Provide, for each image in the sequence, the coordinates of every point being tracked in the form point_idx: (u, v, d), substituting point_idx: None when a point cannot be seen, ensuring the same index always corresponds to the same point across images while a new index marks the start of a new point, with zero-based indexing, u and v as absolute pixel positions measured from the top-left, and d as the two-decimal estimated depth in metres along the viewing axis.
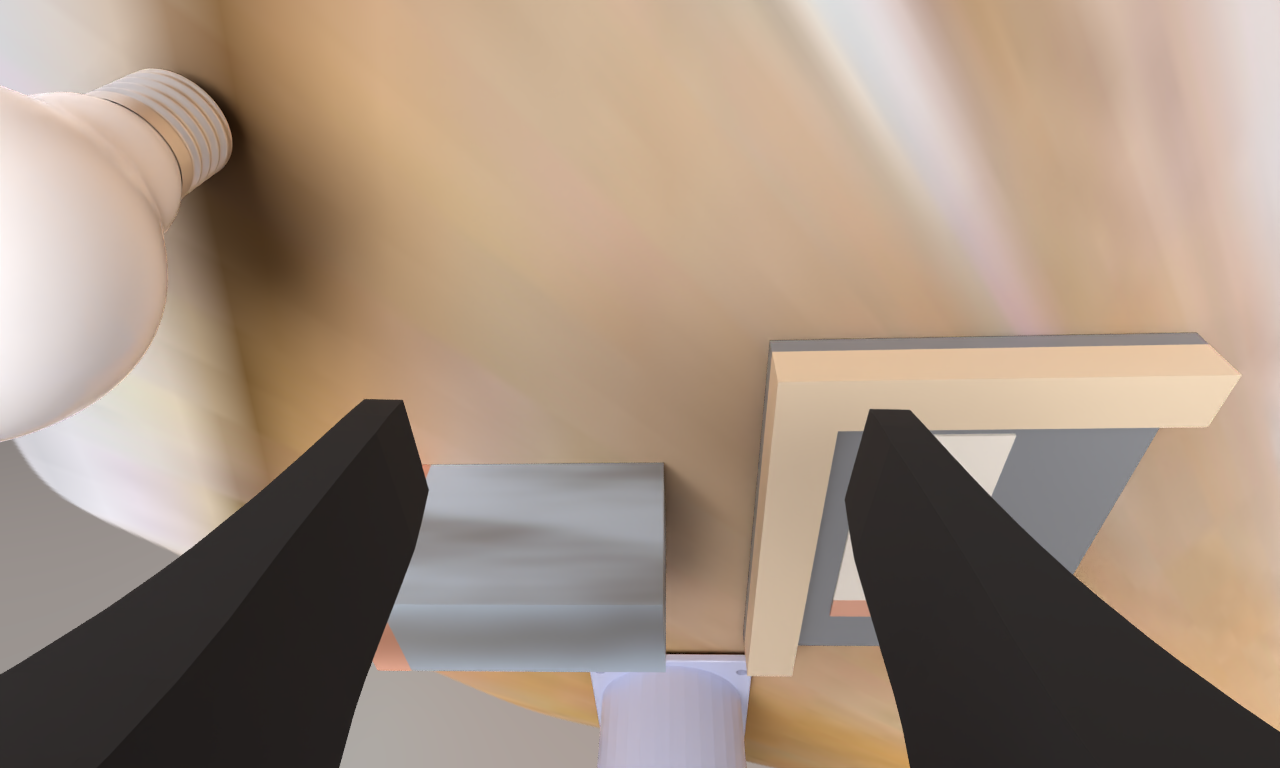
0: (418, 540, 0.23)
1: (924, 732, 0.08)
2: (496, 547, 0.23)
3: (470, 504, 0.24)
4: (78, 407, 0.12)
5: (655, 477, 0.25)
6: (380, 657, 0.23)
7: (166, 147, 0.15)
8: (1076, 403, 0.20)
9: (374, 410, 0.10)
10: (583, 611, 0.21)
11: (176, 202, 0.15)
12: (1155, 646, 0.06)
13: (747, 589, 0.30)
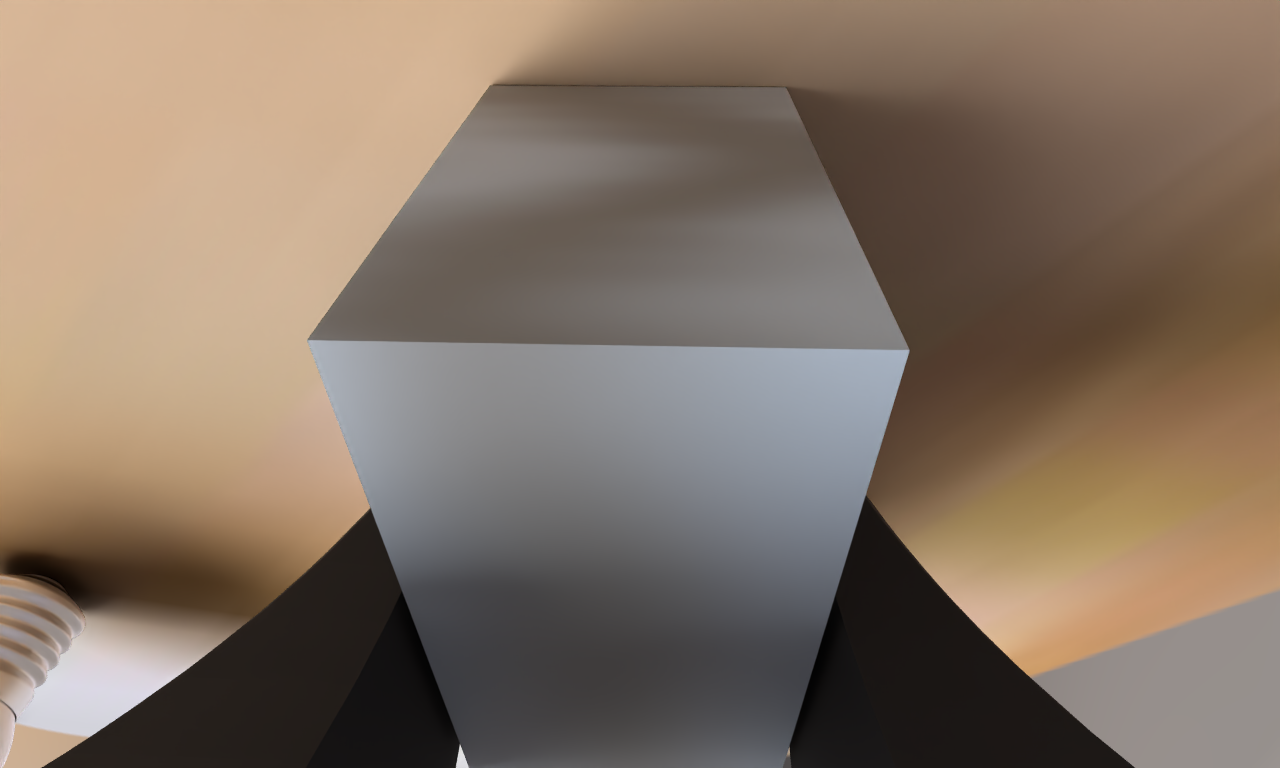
0: None
1: (799, 728, 0.08)
2: None
3: None
4: None
5: None
6: None
7: None
8: None
9: None
10: (431, 565, 0.06)
11: None
12: (985, 641, 0.06)
13: None
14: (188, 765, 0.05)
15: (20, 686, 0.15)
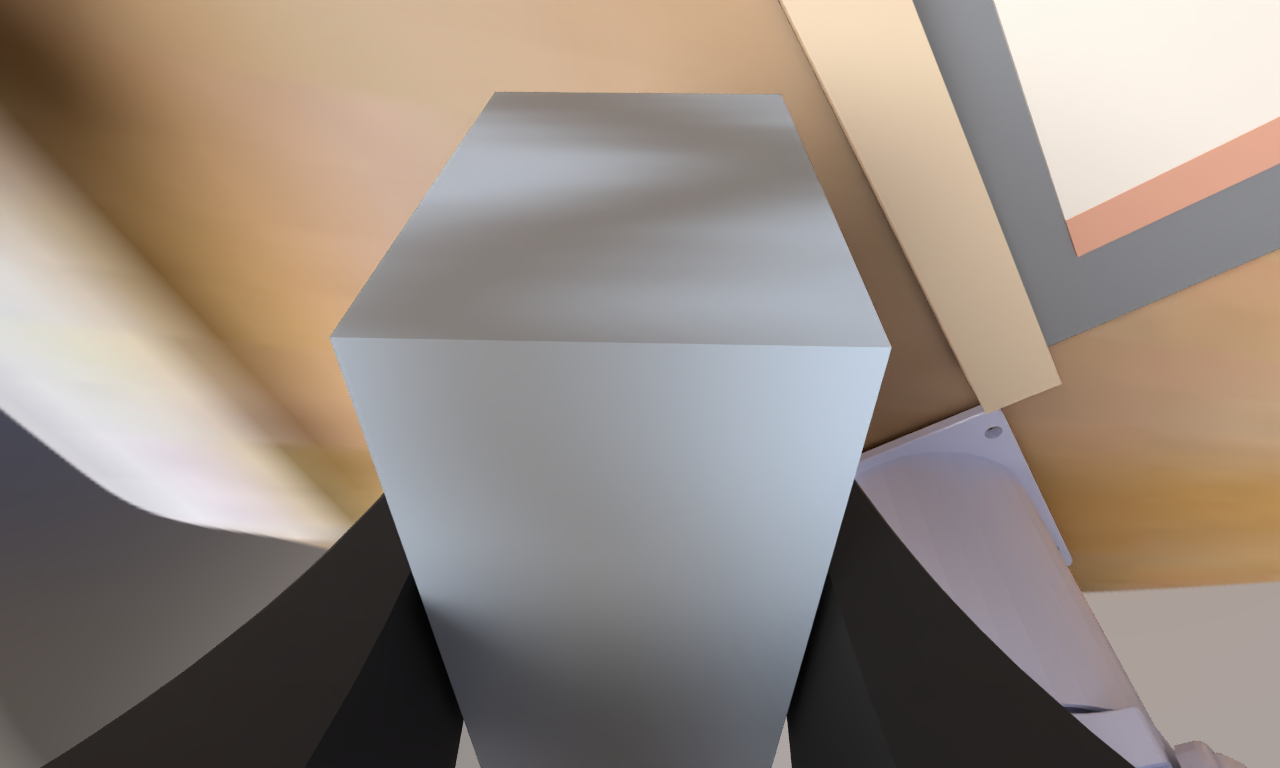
0: None
1: (799, 728, 0.08)
2: None
3: None
4: None
5: None
6: None
7: None
8: None
9: None
10: (440, 551, 0.06)
11: None
12: (986, 641, 0.06)
13: None
14: (187, 764, 0.05)
15: None
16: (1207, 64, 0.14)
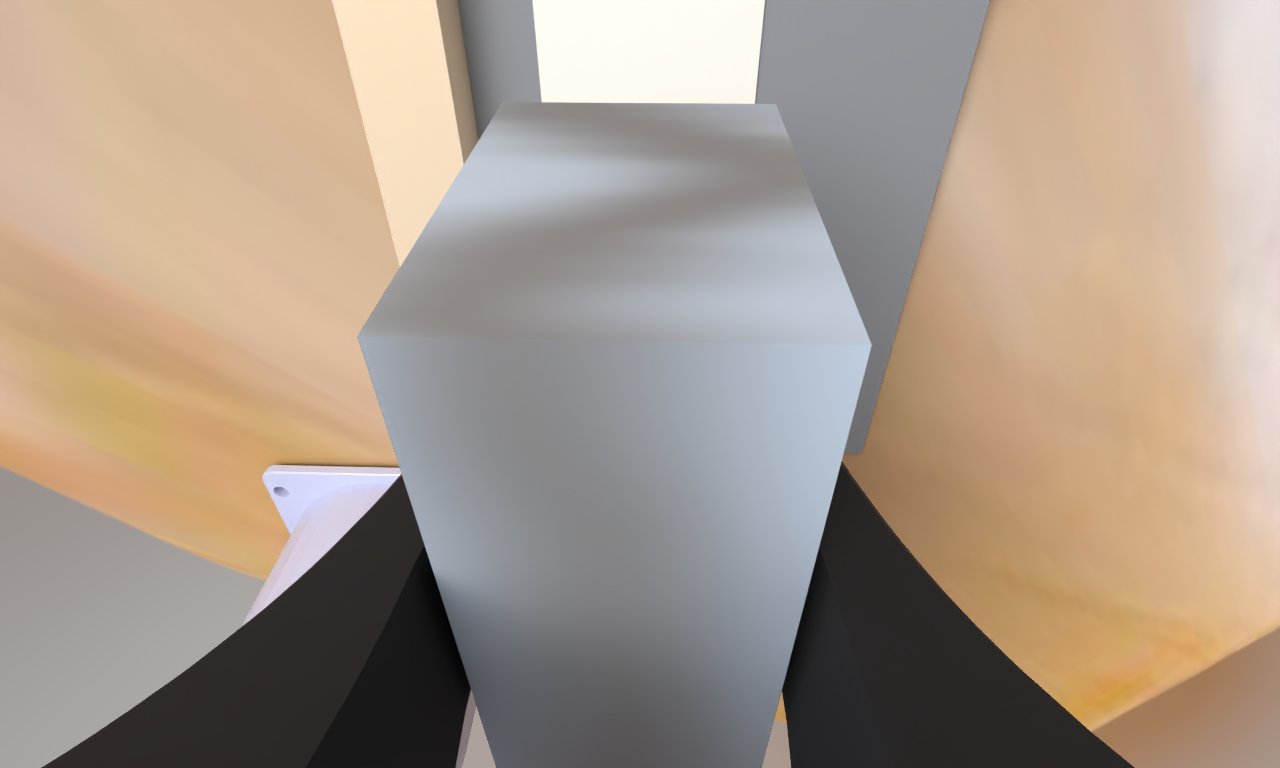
0: None
1: (798, 728, 0.08)
2: None
3: None
4: None
5: None
6: None
7: None
8: None
9: None
10: (455, 536, 0.07)
11: None
12: (985, 641, 0.06)
13: None
14: (186, 763, 0.05)
15: None
16: None
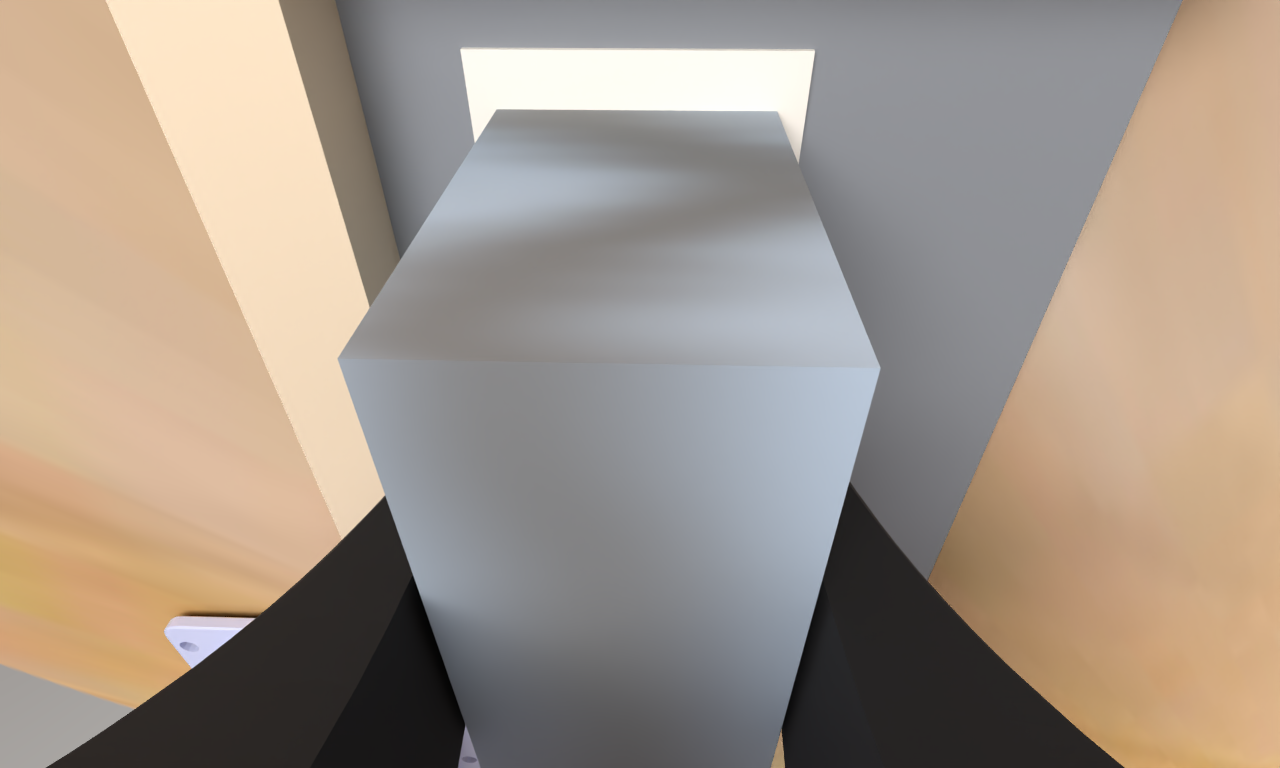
0: None
1: (792, 728, 0.08)
2: None
3: None
4: None
5: None
6: None
7: None
8: None
9: None
10: (444, 562, 0.07)
11: None
12: (976, 641, 0.06)
13: None
14: (192, 765, 0.05)
15: None
16: None
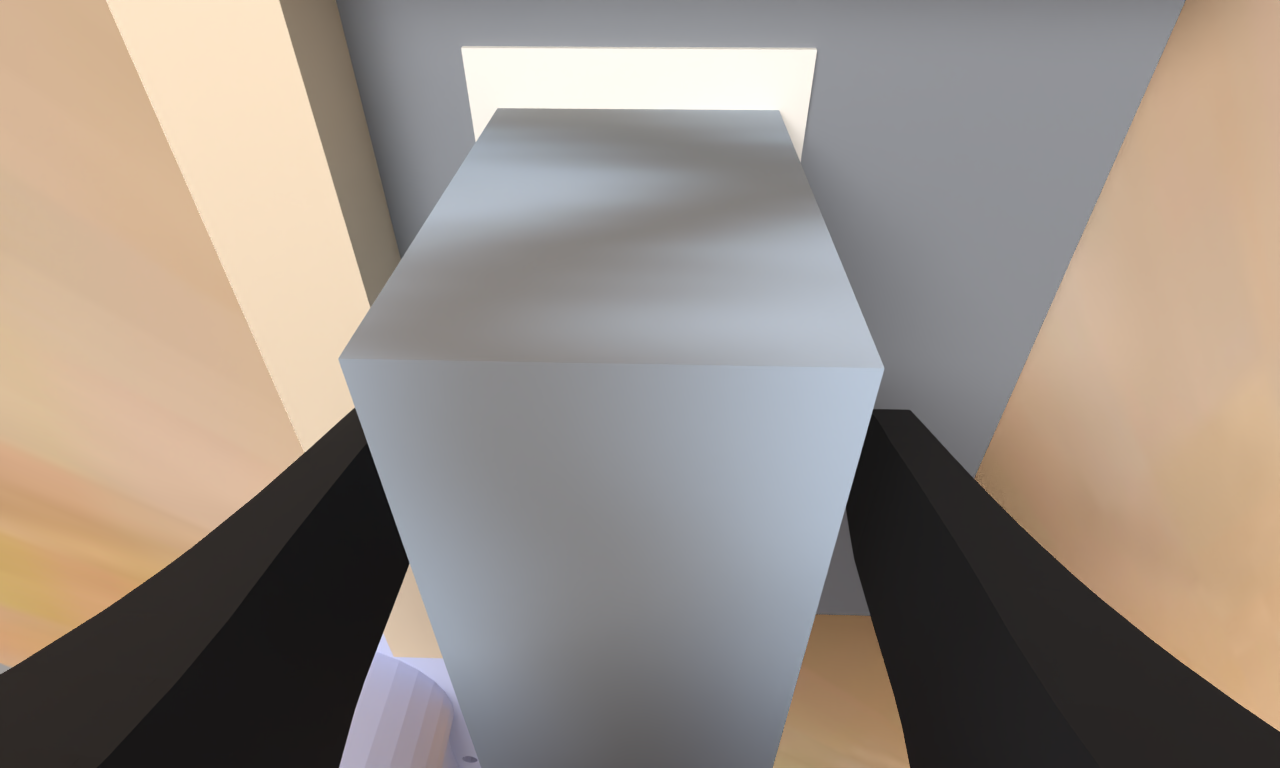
0: None
1: (924, 732, 0.08)
2: None
3: None
4: None
5: None
6: None
7: None
8: None
9: None
10: (445, 563, 0.07)
11: None
12: (1154, 646, 0.06)
13: None
14: None
15: None
16: None
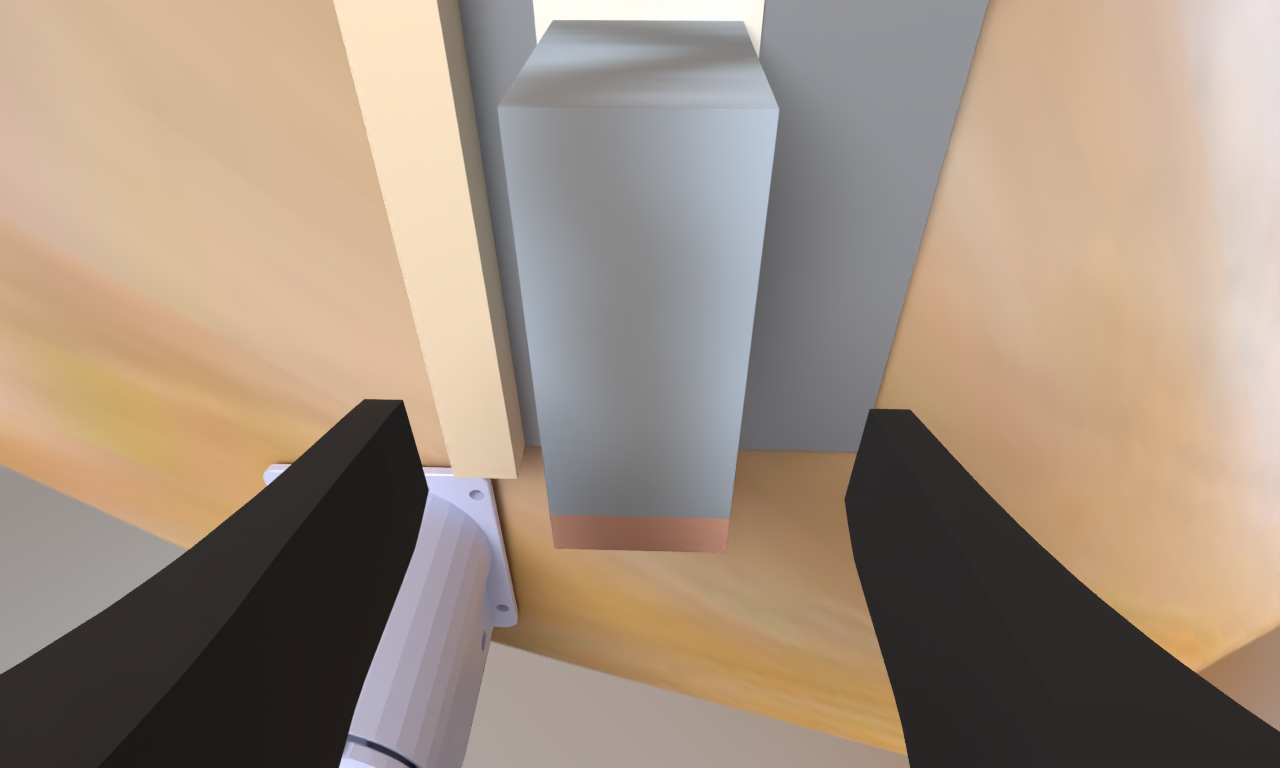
0: None
1: (924, 732, 0.08)
2: None
3: None
4: None
5: None
6: (689, 542, 0.16)
7: None
8: None
9: (374, 410, 0.10)
10: (538, 261, 0.11)
11: None
12: (1155, 646, 0.06)
13: None
14: None
15: None
16: None
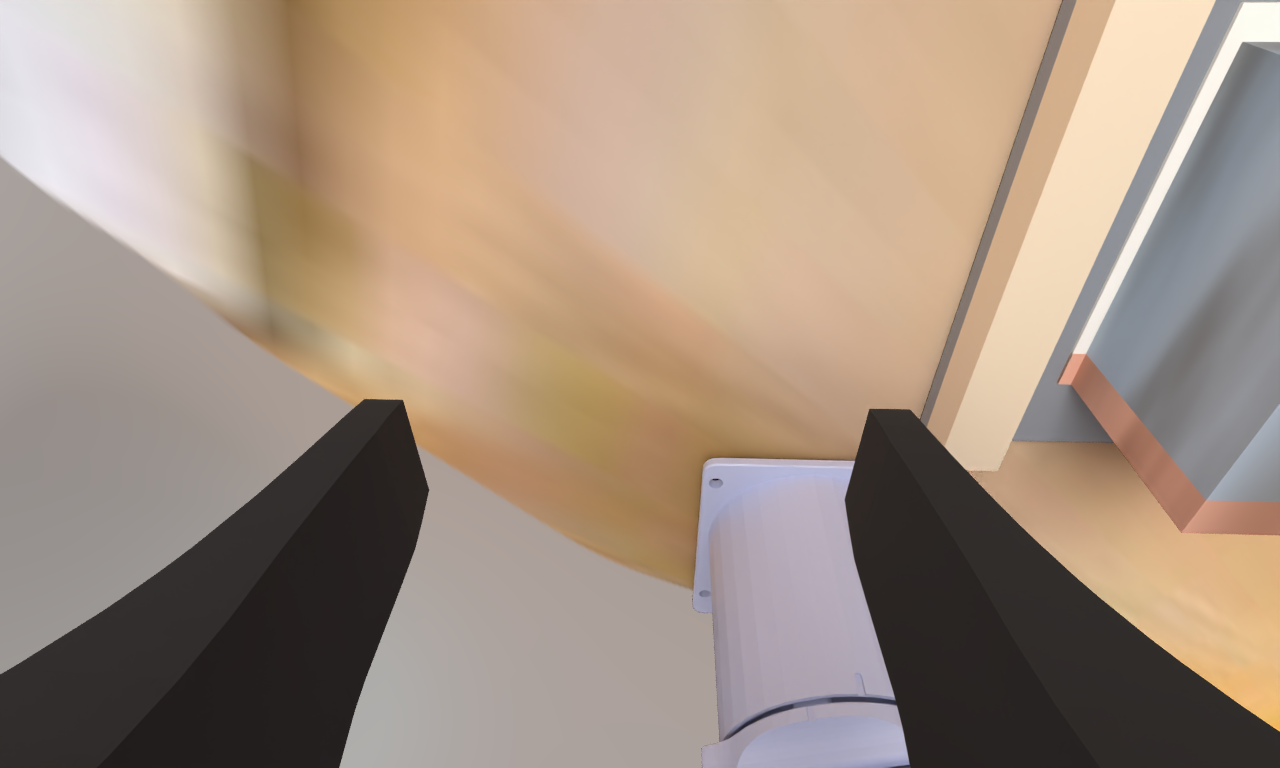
0: (1159, 416, 0.18)
1: (924, 732, 0.08)
2: (1221, 337, 0.16)
3: (1151, 337, 0.18)
4: None
5: (1257, 63, 0.15)
6: None
7: None
8: None
9: (374, 410, 0.10)
10: None
11: None
12: (1155, 646, 0.06)
13: (948, 342, 0.22)
14: None
15: None
16: None
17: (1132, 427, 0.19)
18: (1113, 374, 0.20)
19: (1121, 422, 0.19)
